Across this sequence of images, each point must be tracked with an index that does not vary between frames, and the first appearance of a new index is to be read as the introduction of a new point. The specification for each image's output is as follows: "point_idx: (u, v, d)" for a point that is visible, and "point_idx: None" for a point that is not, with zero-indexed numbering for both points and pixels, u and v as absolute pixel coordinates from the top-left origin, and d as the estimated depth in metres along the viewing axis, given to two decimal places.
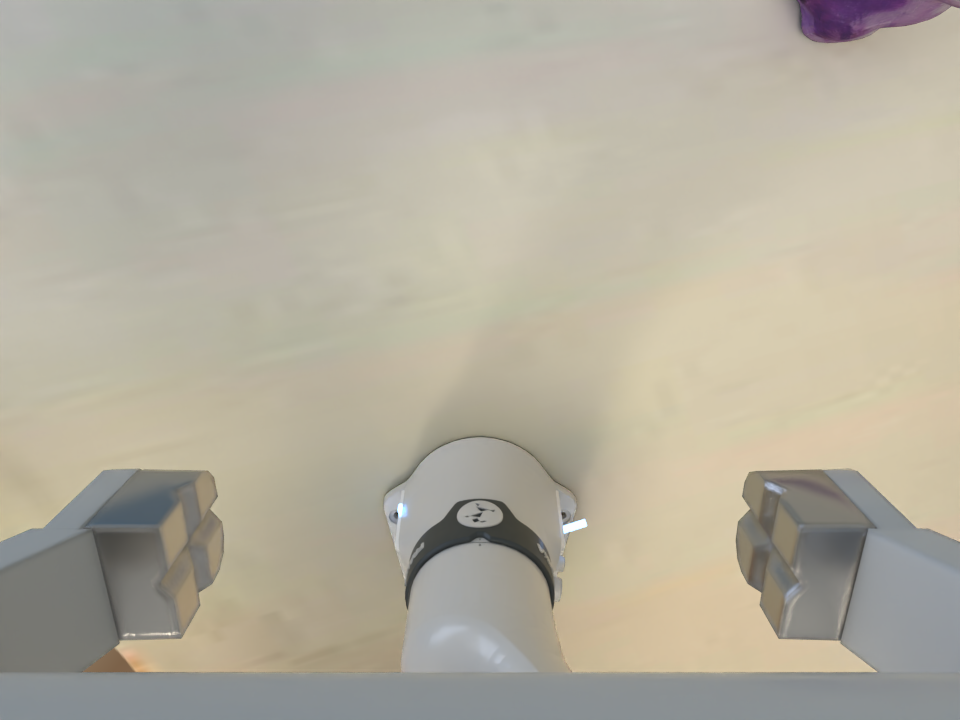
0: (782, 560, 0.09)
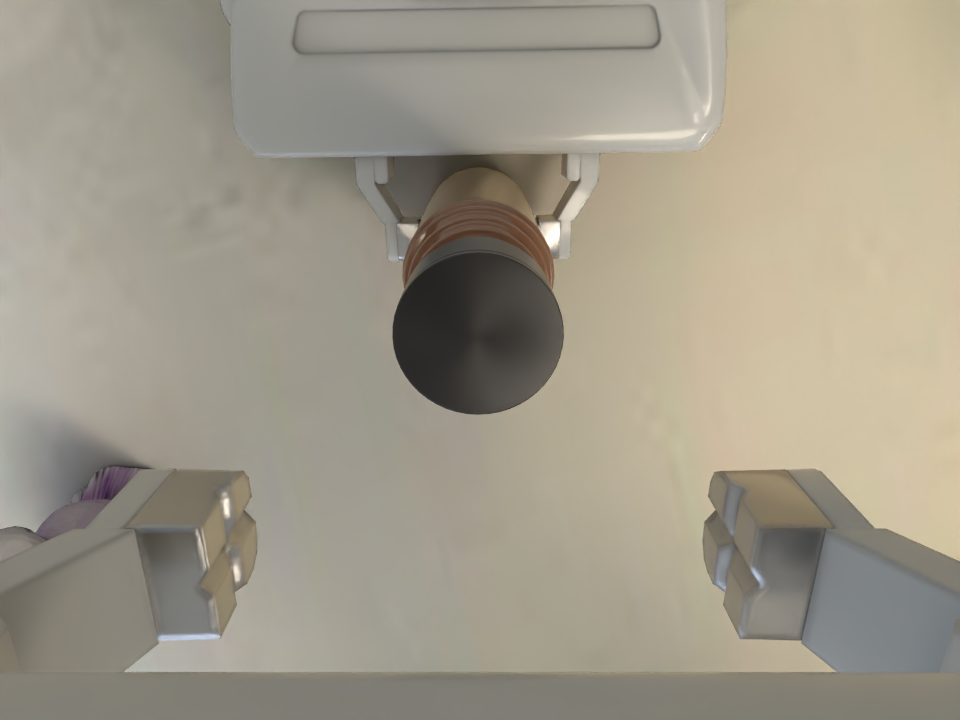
0: (745, 559, 0.09)
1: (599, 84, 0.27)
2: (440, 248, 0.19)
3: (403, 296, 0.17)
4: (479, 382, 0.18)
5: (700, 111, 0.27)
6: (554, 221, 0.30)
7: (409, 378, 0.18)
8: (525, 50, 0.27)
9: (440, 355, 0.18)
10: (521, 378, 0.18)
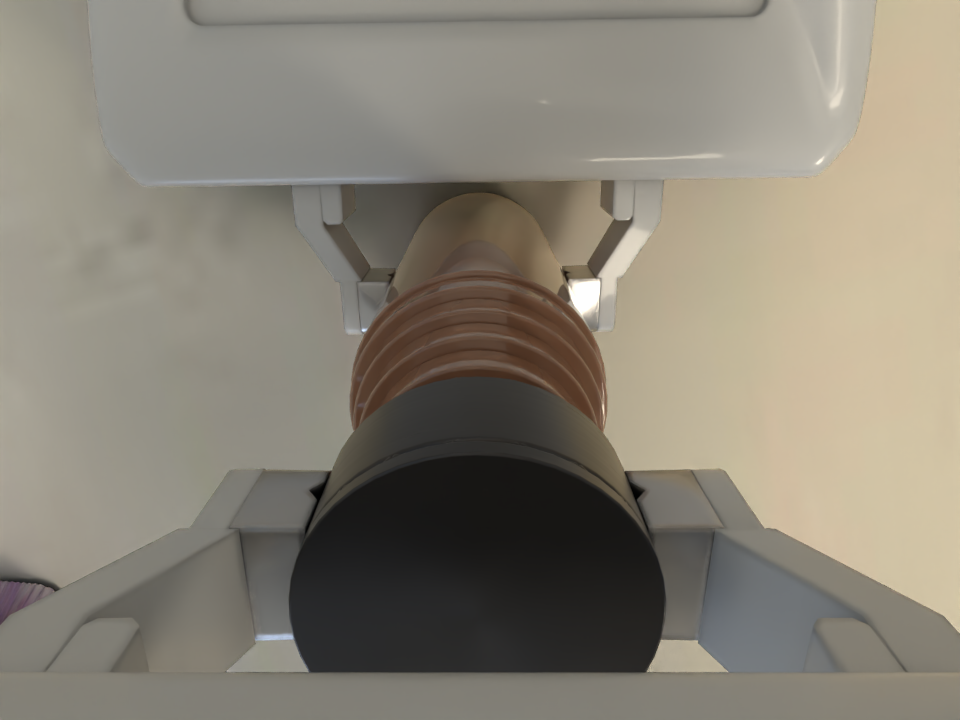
0: None
1: (669, 72, 0.17)
2: (399, 404, 0.09)
3: (308, 541, 0.08)
4: None
5: (826, 116, 0.17)
6: (592, 279, 0.20)
7: None
8: (553, 20, 0.17)
9: (395, 653, 0.08)
10: None
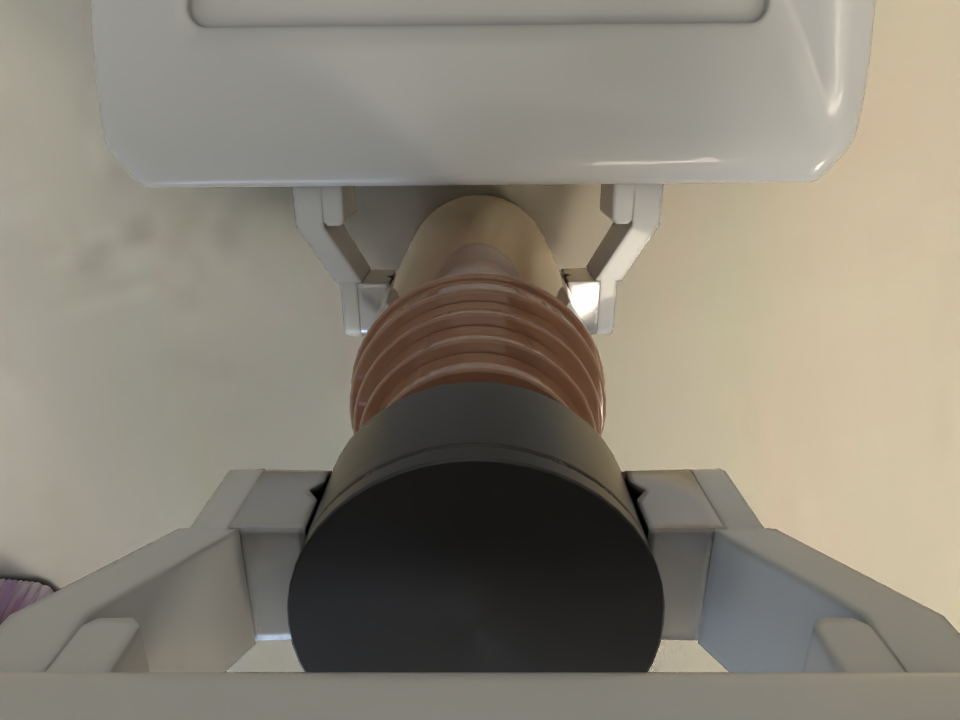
0: None
1: (669, 78, 0.17)
2: None
3: None
4: (582, 634, 0.08)
5: (824, 122, 0.17)
6: (591, 282, 0.20)
7: None
8: (554, 24, 0.17)
9: None
10: (590, 554, 0.08)
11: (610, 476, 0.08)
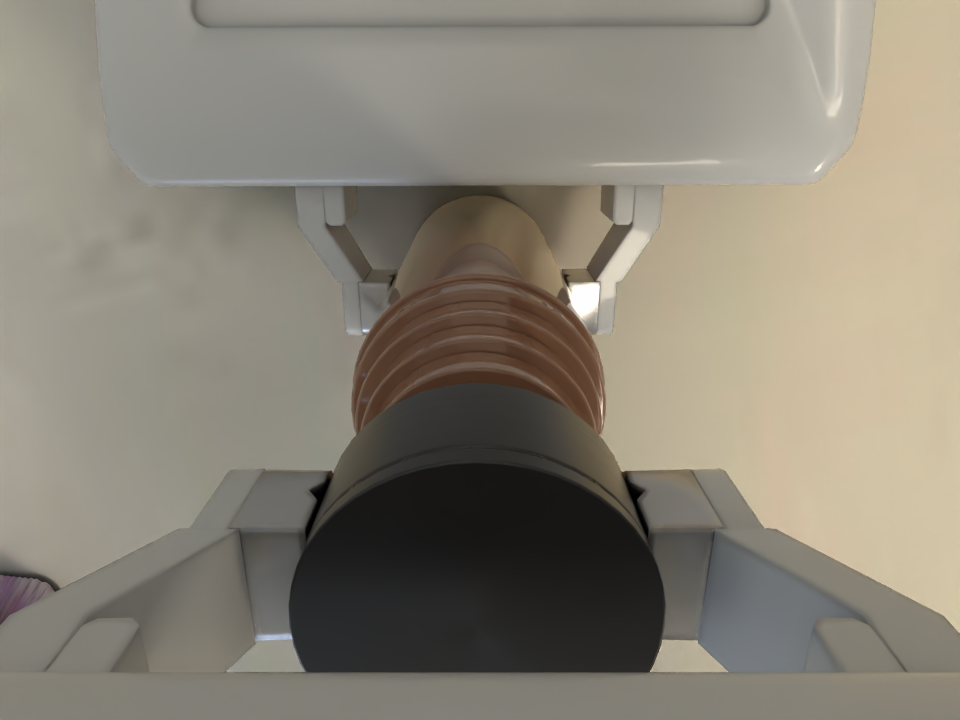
0: None
1: (669, 80, 0.17)
2: None
3: None
4: (503, 539, 0.08)
5: (824, 124, 0.18)
6: (591, 282, 0.20)
7: (656, 584, 0.08)
8: (556, 26, 0.17)
9: (569, 611, 0.08)
10: (403, 524, 0.08)
11: (368, 457, 0.08)
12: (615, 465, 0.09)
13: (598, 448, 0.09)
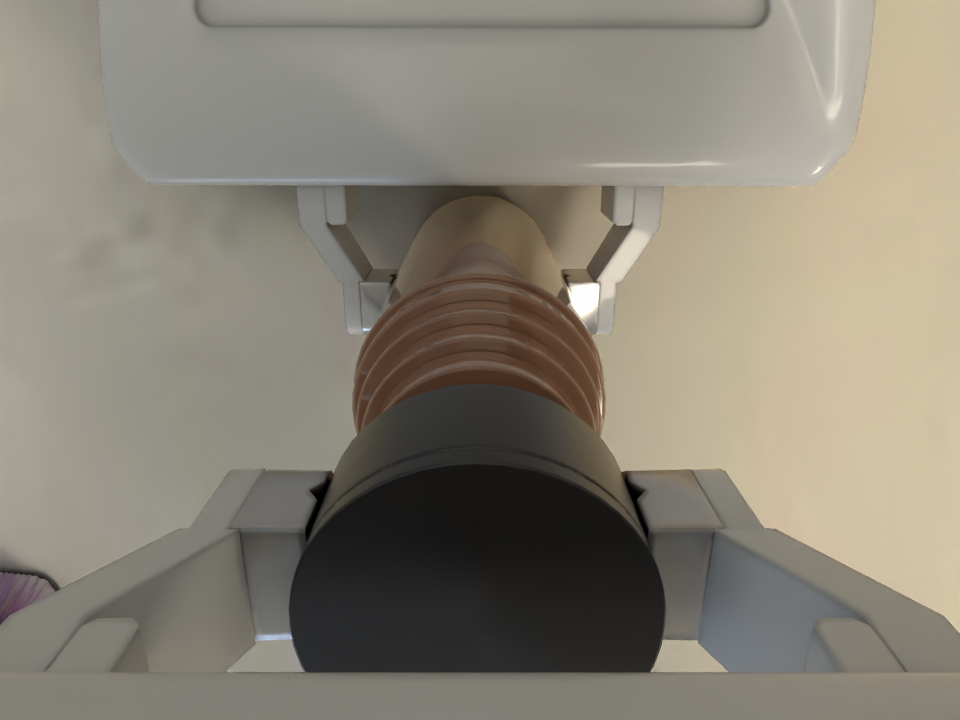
0: None
1: (670, 81, 0.17)
2: None
3: (634, 532, 0.08)
4: (374, 597, 0.08)
5: (824, 127, 0.18)
6: (591, 283, 0.20)
7: (443, 471, 0.07)
8: (557, 27, 0.17)
9: (469, 549, 0.08)
10: (352, 668, 0.08)
11: None
12: (402, 414, 0.09)
13: (372, 435, 0.09)
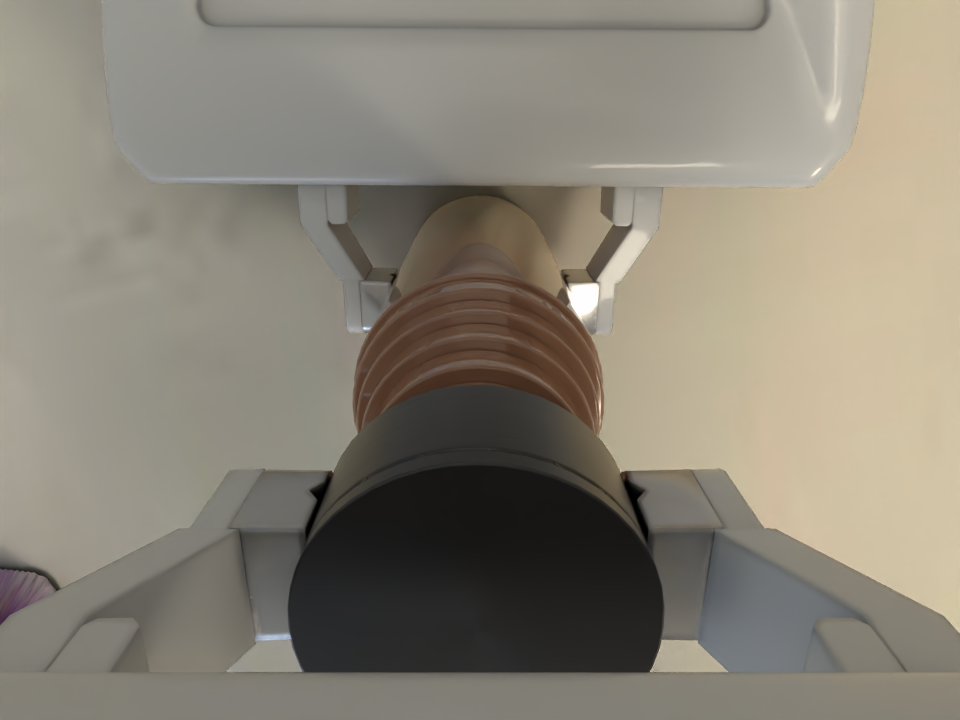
0: None
1: (670, 83, 0.17)
2: (483, 395, 0.09)
3: (374, 489, 0.07)
4: None
5: (823, 129, 0.18)
6: (591, 283, 0.20)
7: (294, 635, 0.08)
8: (558, 29, 0.17)
9: (382, 625, 0.08)
10: None
11: None
12: None
13: None
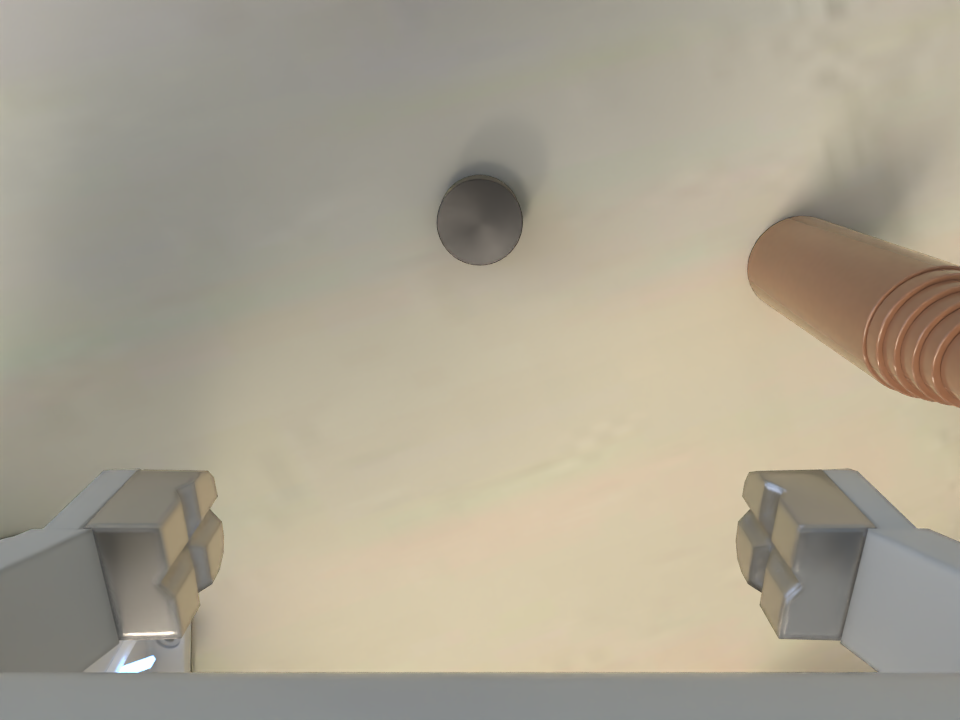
0: (782, 560, 0.09)
1: None
2: (481, 175, 0.36)
3: (458, 185, 0.35)
4: (468, 244, 0.36)
5: None
6: None
7: (438, 224, 0.36)
8: None
9: (458, 221, 0.36)
10: (487, 253, 0.36)
11: None
12: None
13: None
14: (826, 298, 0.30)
